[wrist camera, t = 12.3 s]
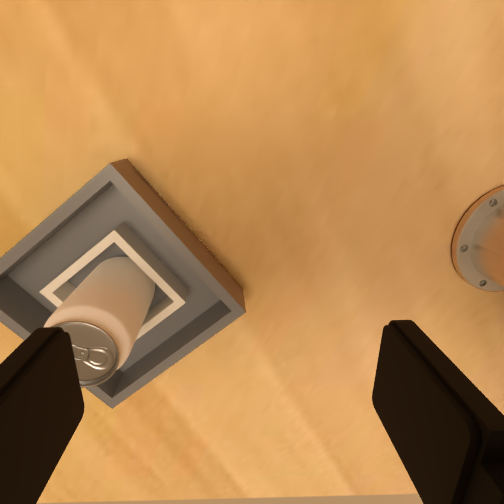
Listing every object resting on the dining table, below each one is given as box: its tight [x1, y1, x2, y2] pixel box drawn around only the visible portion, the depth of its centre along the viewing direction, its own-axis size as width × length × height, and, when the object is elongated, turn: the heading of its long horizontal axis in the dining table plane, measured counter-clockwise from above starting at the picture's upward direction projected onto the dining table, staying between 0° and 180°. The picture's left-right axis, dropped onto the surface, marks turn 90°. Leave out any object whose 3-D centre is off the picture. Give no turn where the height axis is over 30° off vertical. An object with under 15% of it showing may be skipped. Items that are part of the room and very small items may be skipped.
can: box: [44, 257, 155, 388], centre depth 29 cm, size 6×6×12 cm
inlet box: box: [0, 159, 246, 408], centre depth 33 cm, size 18×18×5 cm
